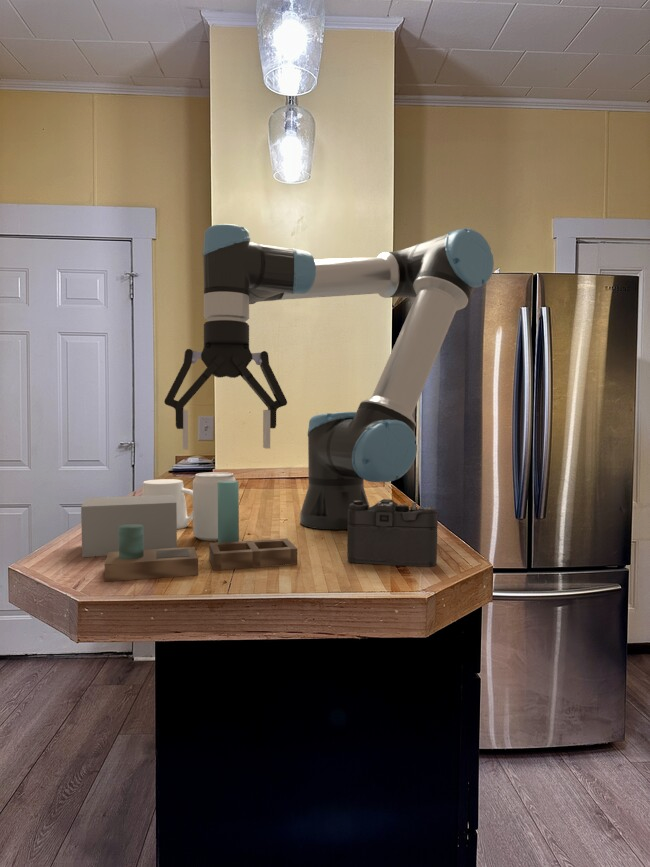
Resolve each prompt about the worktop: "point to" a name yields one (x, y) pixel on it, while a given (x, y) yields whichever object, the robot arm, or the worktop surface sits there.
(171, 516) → the cover
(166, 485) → the mug
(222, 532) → the pin
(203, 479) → the beverage can
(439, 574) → the worktop surface
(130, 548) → the board
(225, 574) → the worktop surface
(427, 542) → the camera
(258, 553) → the board
